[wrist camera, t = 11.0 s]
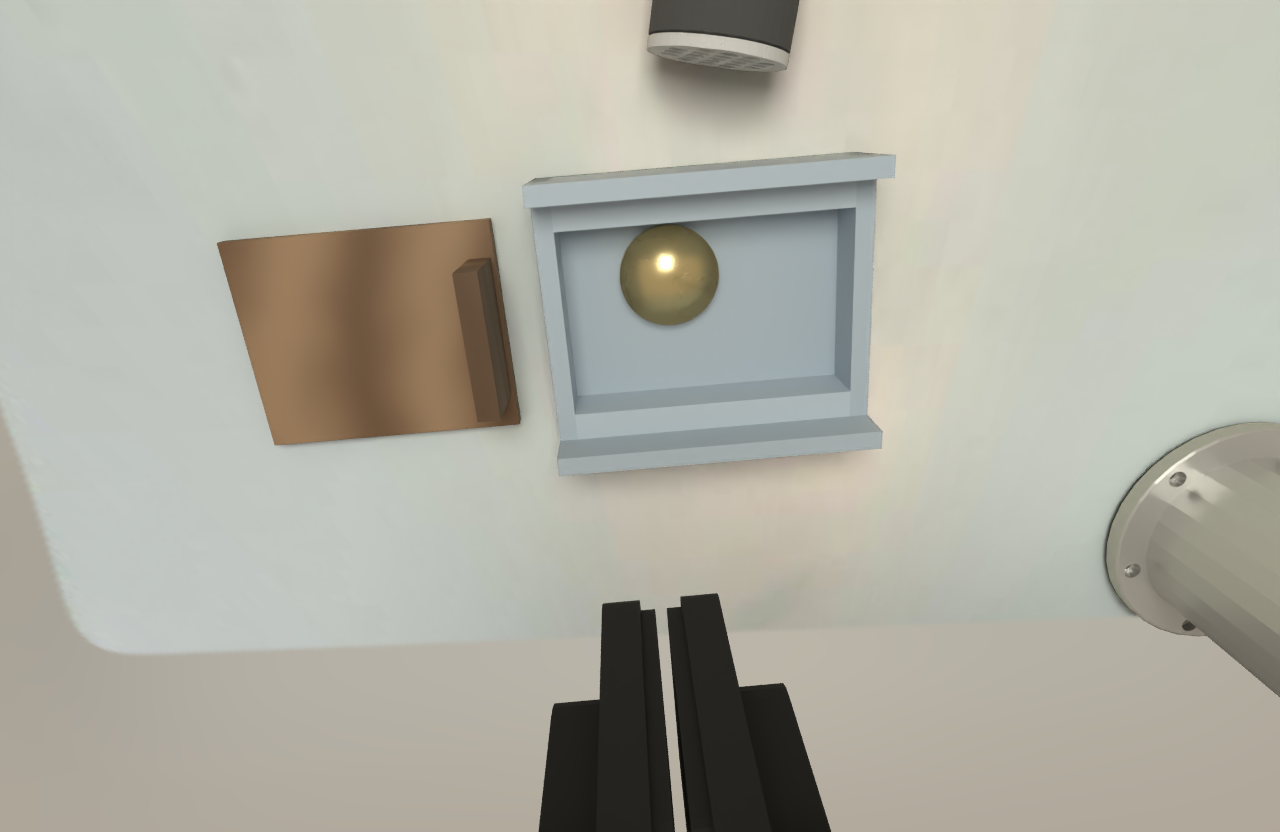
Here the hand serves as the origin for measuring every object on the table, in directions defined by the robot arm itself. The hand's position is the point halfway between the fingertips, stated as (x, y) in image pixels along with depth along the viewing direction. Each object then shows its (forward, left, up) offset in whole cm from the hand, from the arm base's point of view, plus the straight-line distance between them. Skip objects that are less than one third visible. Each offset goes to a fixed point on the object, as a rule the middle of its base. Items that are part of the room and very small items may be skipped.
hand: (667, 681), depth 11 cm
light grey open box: (-2, -2, -25) cm, 25 cm away
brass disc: (0, -2, -25) cm, 25 cm away
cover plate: (+8, +9, -26) cm, 28 cm away
